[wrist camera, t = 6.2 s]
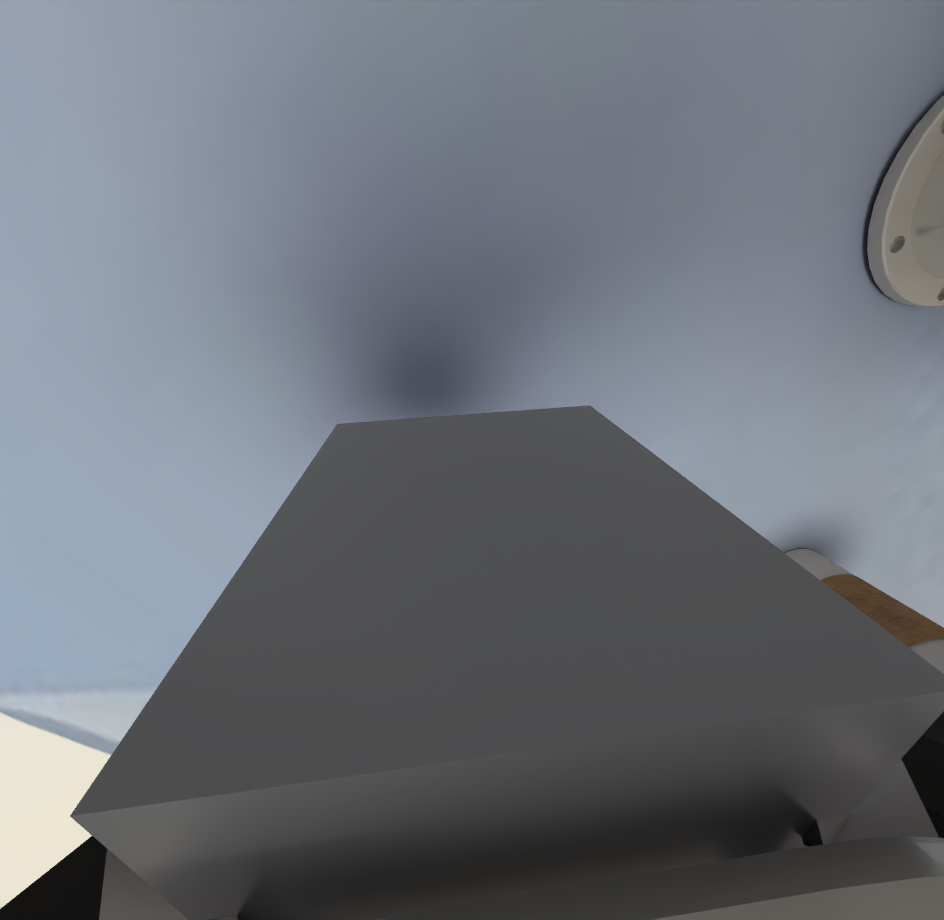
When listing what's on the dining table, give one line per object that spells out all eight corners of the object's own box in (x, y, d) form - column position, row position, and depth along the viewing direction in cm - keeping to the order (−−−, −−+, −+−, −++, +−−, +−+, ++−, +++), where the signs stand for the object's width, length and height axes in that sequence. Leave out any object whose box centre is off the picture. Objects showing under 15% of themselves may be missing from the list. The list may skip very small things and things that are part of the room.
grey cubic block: (337, 424, 11) (71, 815, 3) (589, 405, 11) (963, 688, 3) (378, 610, 14) (309, 1025, 6) (570, 588, 15) (733, 943, 7)
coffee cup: (748, 614, 37) (924, 802, 24) (742, 557, 33) (947, 741, 20) (831, 585, 36) (1063, 763, 23) (834, 524, 33) (1114, 692, 19)
